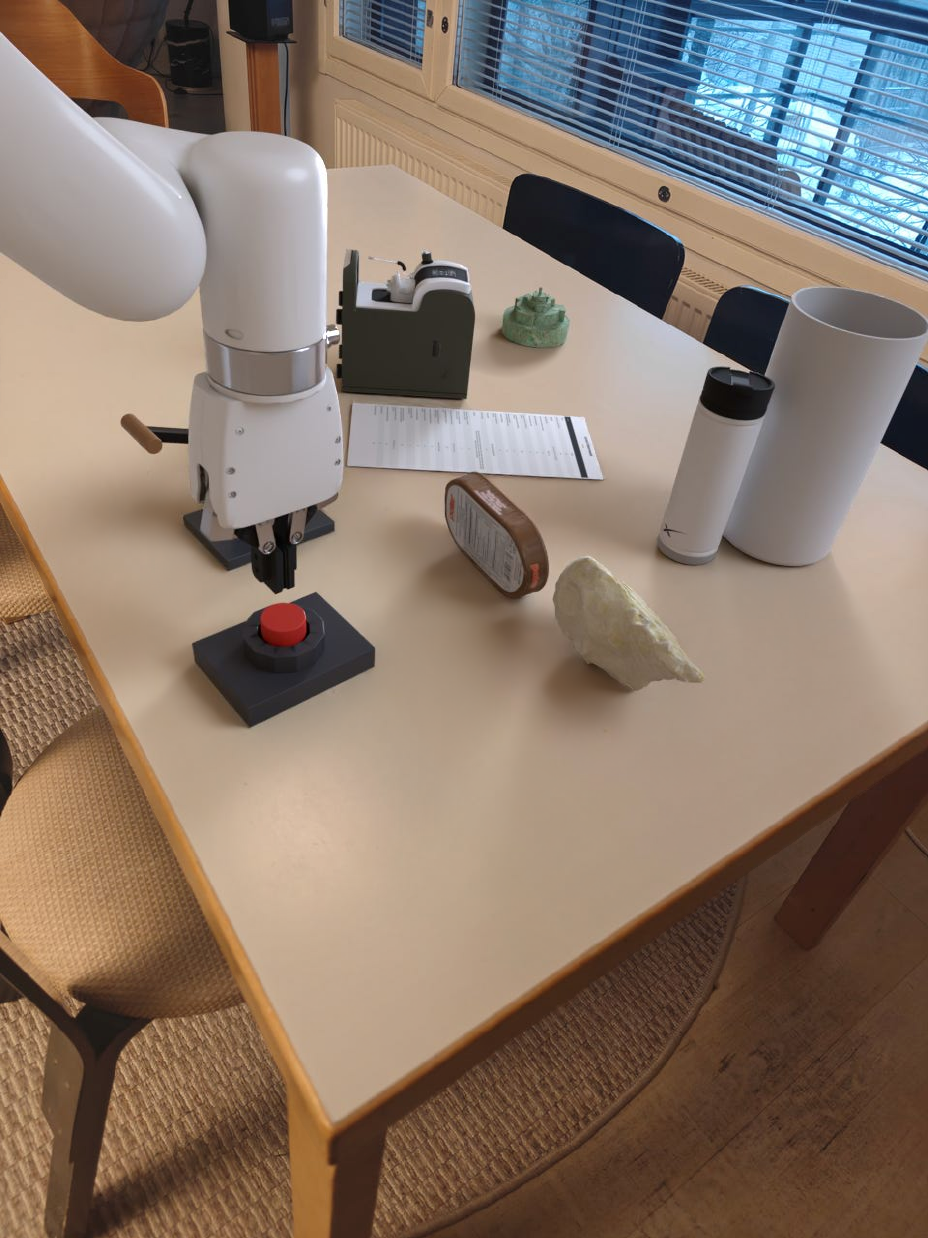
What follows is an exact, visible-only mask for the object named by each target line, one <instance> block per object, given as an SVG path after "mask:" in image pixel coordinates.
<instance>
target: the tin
mask: <svg viewBox="0 0 928 1238" xmlns="http://www.w3.org/2000/svg"><path fill="white" fill-rule="evenodd" d="M444 517H445V518H444V519H445V522H446V525H447V528H448V530H449V533H450V535H451V537H452V540H453V541H454V543H455V544H456V546H457V547H458V548H459V550H460V551H461V552H462V553H463V554H464V555H465V556H466V557H467V558H468V559H469V560H470V561H471V562H472V563H473V565H474V566H475V567H477V569H478V570H479V571H480V572H481V573H482V574H483V575H484V576H485V577H486V578H487V579H488V581H490V582H491V584H493V586H495V587H496V589H497V590H498V591H499V592H500V593H502V594H503V595H504V596H506V597H508V598H511V599H517V598H518V599H519V598H522V597H525V596H528V595H530V594H532V593H537V592H540V591H542V590H543V589H544V588H545V587H546V585H547V583H548V580H549V575H550V561H549V554H548V550H547V546H546V543H545V541H544V538H543V536H542V534H541V532H540V530H539V527H538V526H537V525H536V523H535V522H534V521H533V519H531V518H530V516H529V515H528V514H527V513H525V511H524V510H522V509H521V508H520V506H519V505H517V504H516V503H515V502H514V501H513V500H511V498H510V497H508V495H506V494H505V493H504V492H503V491H502V490H501V489H500V488H499V487H498V486H497V485H496V484H494V483H493V482H492V480H490V479H489V477H487V476H486V475H485V474H483V473H479V472H470V473H466V474H463V475H461V476H458V477H455V478H452V479H451V480H449V481H448V483H447V484H446V485H445V489H444Z"/></svg>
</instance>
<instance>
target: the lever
mask: <svg viewBox="0 0 928 1238" xmlns="http://www.w3.org/2000/svg"><path fill="white" fill-rule="evenodd" d="M120 427H122V429H124V430H125V432H127V433H128V434H129V435H130V436H131V437H132V439H133V440H135V441H136V442H137V444H138V445H140V446H141V447H142V449H144V450H145V451H146V453H148V454H151V455H157V454H158V453H160V452H161V451H162V449H163V444H180V445H182V444H183V445H188V436H189V428H180V427H167V426H166V427H165V426H152V425H151V426H150V425H145V424H144V423H143V422H142V421H141V420H140V419H139V418H138V417H137V416H136V415H135V414H133V413H126V414H124V415H123V416H122V417H121V419H120Z"/></svg>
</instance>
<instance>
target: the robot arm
mask: <svg viewBox="0 0 928 1238" xmlns="http://www.w3.org/2000/svg"><path fill="white" fill-rule="evenodd" d="M324 163H325V162H324V160H323V159H322V157H321V156H320V154H319V152H317V151H316V150H315V149H314V148H313V147H312V146H311V145H309V144H307V143H305V142H303V141H301V140H299V139H296V138H294V137H291V136H286V135H282V134H279V133H278V134H277V133H271V132H265V131H254V130H253V131H251V130H248V131H247V130H234V131H233V130H232V131H224V132H218V133H214V134H207V133H199V132H192V131H187V130H180V129H175V128H170V127H166V126H165V127H164V126H160V125H154V124H149V123H145V122H140V121H135V120H131V119H125V118H119V117H107V116H96V117H92V116H91V115H89V113H87V112H86V111H85V110H84V109H83V108H81V107H80V105H78V104H77V103H76V102H74V101H73V99H71V98H70V97H69V96H68V95H67V94H65V93H64V91H62V90H61V89H60V87H58V86H57V85H56V84H54V82H52V81H51V80H50V79H49V78H48V77H47V76H46V75H45V74H44V73H43V72H42V71H41V70H39V68H37V66H35V65H34V64H33V63H32V62H31V61H30V60H29V59H28V58H27V56H25V55H24V54H23V53H22V52H21V51H20V50H19V49H18V48H17V47H16V46H15V45H14V44H13V43H12V42H11V41H10V40H9V39H8V38H7V37H6V36H5V35H4V34H3V33H2V32H1V31H0V253H1V254H2V255H4V256H5V257H6V258H8V259H10V260H11V261H12V262H13V263H15V264H17V265H18V266H20V267H21V268H23V269H24V270H25V271H26V272H29V273H30V274H31V275H33V276H34V277H35V278H36V279H38V280H40V281H41V282H43V283H44V284H46V285H47V286H49V287H50V288H51V289H52V290H54V291H56V292H57V293H59V294H60V295H62V296H64V297H65V298H67V299H68V300H69V301H70V300H71V301H72V302H73V303H76V304H77V305H78V306H80V307H83V308H84V309H87V310H88V311H91V312H93V313H95V314H98V315H101V316H103V317H106V318H109V319H113V320H118V321H121V322H122V321H123V322H134V323H136V322H137V323H142V322H143V323H144V322H151V321H157V320H160V319H163V318H166V317H168V316H171V315H172V314H173V313H176V312H177V311H179V310H180V309H182V308H183V307H184V306H185V305H186V304H187V303H188V302H189V301H191V299H192V298H193V296H194V294H195V293H196V291H197V290H198V289H199V300H200V309H201V311H200V312H201V322H202V333H203V334H202V335H203V346H204V358H205V371H202V372H199V373H197V374H196V375H195V376H194V379H193V384H192V390H191V397H190V405H189V416H188V429H189V436H188V444H187V445H188V446H187V447H188V474H189V476H188V477H189V478H188V479H189V488H190V493H191V497H192V499H193V501H194V502H195V503H196V504H197V505H198V506H199V505H201V504H203V508H202V509H203V514H202V521H201V527H200V530H201V532H202V533H203V534H204V535H205V536H206V537H207V538H208V539H209V540H210V541H212V542H217V541H226V540H233V539H234V538H239V539H240V540H242V541H244V542H246V543H248V544H249V545H250V547H251V563H250V564H251V571H252V575H253V576H254V578H255V580H256V581H258V582H259V583H263V584H264V585H265V586H266V587H267V588H268V589H269V590H270V591H271V592H272V593H273V594H274V595H278V594H281V593H283V592H284V591H283V590H290V589H293V588H295V587H296V579H295V578H296V576H295V575H296V573H295V571H296V570H297V569H298V567H297V566H298V556H297V554H298V553H297V549H298V548H297V545H296V544H298V543H299V542H301V541H302V539H303V536H304V530H305V526H306V525H307V524H308V522H309V521H310V520H311V518H312V517H313V516H314V514H315V513H316V510H318V511H319V510H322V509H325V508H326V507H328V506H329V505H331V504H333V503H334V502H336V501H337V500H338V498H339V491H340V489H341V486H342V483H343V475H344V440H343V438H344V437H343V426H342V417H341V415H342V414H341V408H340V403H339V396H338V392H337V388H336V387H337V386H336V382H335V378H334V374H333V371H332V370H331V368H330V367H329V366H328V365H327V364H328V349H330V348H331V346H336V345H339V344H340V341H341V334H340V330H339V329H338V327H337V325H336V324H333V323H332V324H327V278H328V277H327V272H328V271H327V270H328V267H327V266H328V175H327V169H326V166H325V164H324Z"/></svg>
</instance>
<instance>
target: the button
mask: <svg viewBox="0 0 928 1238" xmlns="http://www.w3.org/2000/svg"><path fill="white" fill-rule="evenodd" d="M270 605H271V606H270ZM270 605H268V606H269V607H267V606H266V607H267V608H266V609H265V610H264V611H263V612H262V614H261V616H260V622H261V634H262V638H263V639H264V641H265V642H267V643H268V644H270V645H272V646H275V647H289V646H293V645H296V644H298V643H300V642H301V641H302V640H303V639H304V638H305V636H306V615H305V612H304V611H303V610H302V609H301V608H300V607H299V606H297V605H294V604H291V603H290V602H278V603H273V605H272V604H270Z"/></svg>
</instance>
